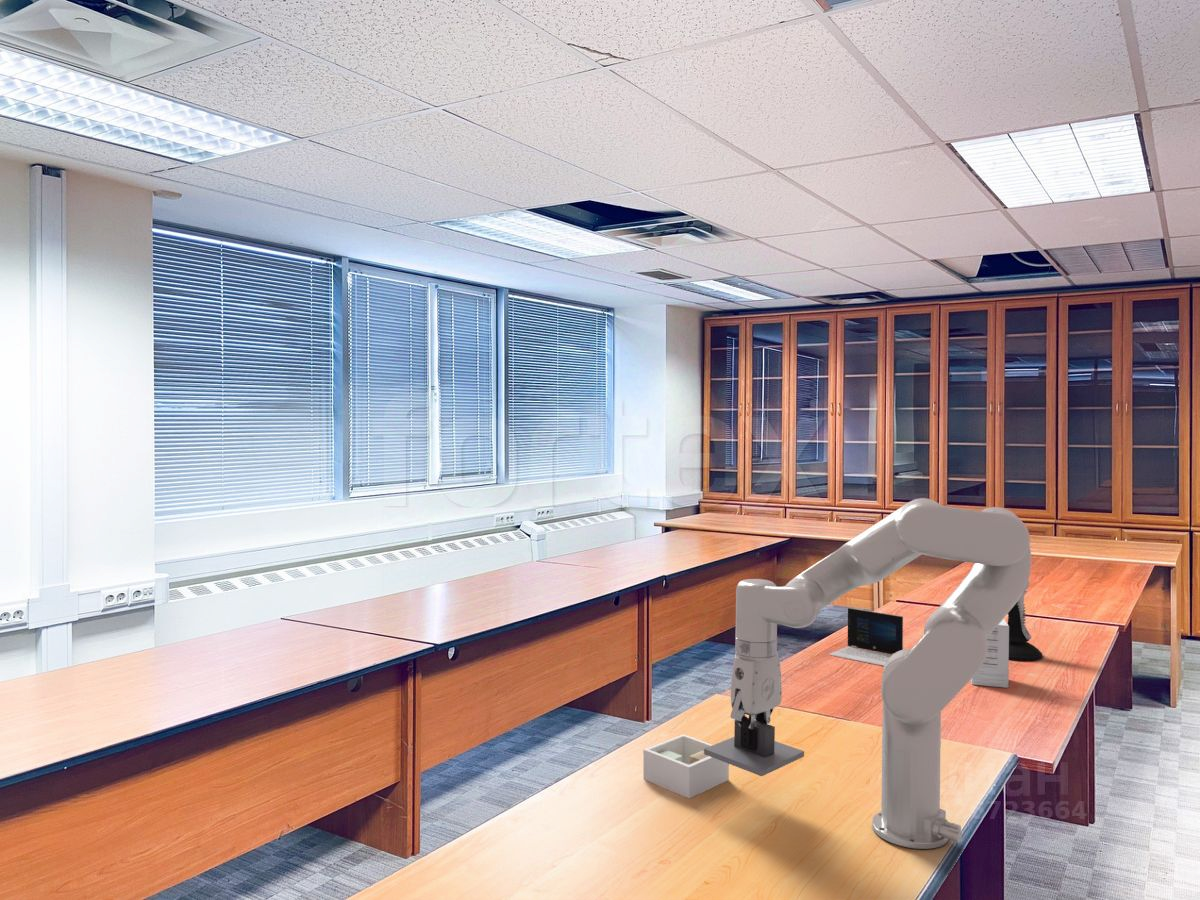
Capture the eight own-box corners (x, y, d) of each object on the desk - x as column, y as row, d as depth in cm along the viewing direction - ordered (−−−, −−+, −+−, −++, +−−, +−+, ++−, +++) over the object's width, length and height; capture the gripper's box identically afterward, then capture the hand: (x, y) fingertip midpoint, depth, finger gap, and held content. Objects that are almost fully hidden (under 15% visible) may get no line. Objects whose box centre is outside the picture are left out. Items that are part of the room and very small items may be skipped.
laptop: (828, 656, 258) (828, 614, 258) (847, 648, 267) (848, 607, 267) (884, 668, 246) (884, 623, 246) (903, 659, 255) (903, 616, 255)
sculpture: (1034, 664, 248) (1035, 579, 247) (951, 650, 263) (952, 570, 262) (1047, 653, 259) (1049, 572, 258) (967, 640, 275) (968, 564, 274)
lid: (804, 756, 156) (804, 724, 156) (761, 776, 147) (762, 742, 147) (747, 736, 165) (747, 706, 165) (704, 754, 157) (704, 722, 156)
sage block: (682, 775, 169) (682, 755, 169) (669, 781, 166) (669, 761, 166) (667, 769, 172) (667, 750, 172) (654, 775, 169) (654, 755, 169)
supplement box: (1009, 688, 226) (1010, 626, 225) (971, 685, 229) (972, 623, 228) (1004, 678, 235) (1005, 618, 234) (968, 675, 238) (969, 615, 237)
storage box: (728, 780, 169) (728, 750, 168) (689, 798, 160) (689, 767, 160) (683, 762, 177) (683, 734, 177) (643, 779, 169) (643, 749, 169)
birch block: (718, 776, 169) (718, 756, 168) (705, 781, 166) (705, 761, 166) (702, 770, 172) (702, 750, 171) (689, 775, 169) (689, 755, 169)
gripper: (745, 660, 147) (743, 764, 148) (798, 643, 158) (796, 740, 159) (711, 651, 153) (710, 751, 153) (765, 636, 164) (763, 729, 164)
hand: (754, 745), depth 156 cm, fingers closed on lid, 2 cm apart
